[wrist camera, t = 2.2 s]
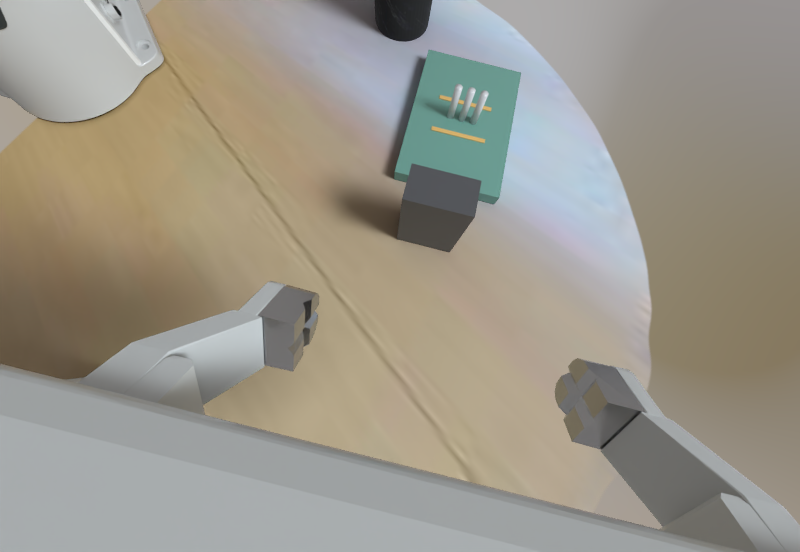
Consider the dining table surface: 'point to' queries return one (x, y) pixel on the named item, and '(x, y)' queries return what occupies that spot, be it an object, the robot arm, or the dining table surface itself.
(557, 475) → the dining table surface
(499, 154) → the teal plate
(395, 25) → the travel mug
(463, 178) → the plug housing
